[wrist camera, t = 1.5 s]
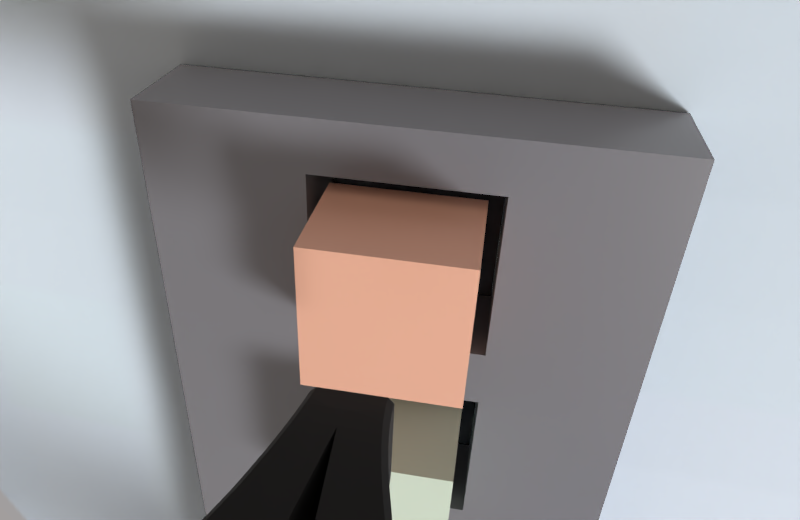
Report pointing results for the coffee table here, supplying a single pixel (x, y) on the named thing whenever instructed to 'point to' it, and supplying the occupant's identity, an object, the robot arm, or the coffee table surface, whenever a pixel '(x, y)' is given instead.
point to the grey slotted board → (495, 315)
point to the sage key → (423, 460)
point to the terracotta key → (389, 292)
